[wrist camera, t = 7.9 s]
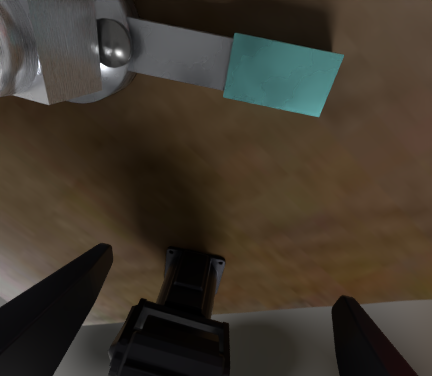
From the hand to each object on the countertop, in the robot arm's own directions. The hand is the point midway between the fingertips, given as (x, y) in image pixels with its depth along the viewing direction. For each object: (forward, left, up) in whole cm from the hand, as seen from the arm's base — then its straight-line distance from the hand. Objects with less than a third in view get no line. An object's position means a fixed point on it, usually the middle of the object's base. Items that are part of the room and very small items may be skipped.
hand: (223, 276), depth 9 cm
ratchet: (+6, +12, -12) cm, 18 cm away
